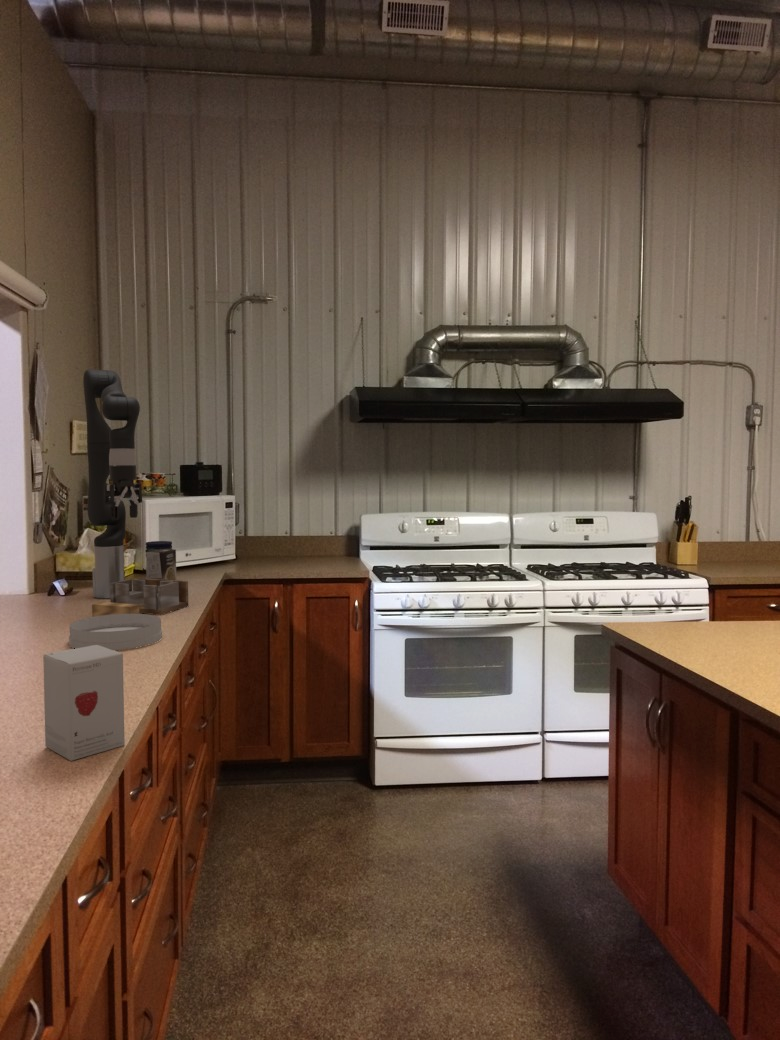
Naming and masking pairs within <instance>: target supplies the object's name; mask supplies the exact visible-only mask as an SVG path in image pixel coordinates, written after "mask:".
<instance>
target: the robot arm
mask: <svg viewBox="0 0 780 1040" xmlns="http://www.w3.org/2000/svg"><path fill="white" fill-rule="evenodd" d="M82 378H83V380H82V382H83V395H84V404H85V414H86V445H87V447H86V448H87V449H86V451H87V452H86V453H87V463H88V464H87V466H88V467H87V468H88V489H87V491H88V492H87V504H86V505H87V506H86V507H87V517H88V520H89V523H91V524H92V525H93V526H95V527H102V526H104V527H105V526H106V528H105V530H104V531H103V532H102V533H101V534H99V535H98V536H96V537H95V538H94V539H93V540H94V541H93V547H94V548H93V550H94V568H92V570H91V571H92V594H93V595H92V597H93V598H98V599H110V583H114V582H118V581H123V580H126V579H125V557H124V556H125V552H124V551H125V548H124V547H125V546H124V545H125V544H124V540H125V537H126V521H127V519H126V518H127V517H126V516H127V514H126V512H127V511H126V506H125V503H124V501H123V499H125V500H126V501H127V502H128V505H129V517H130V519H131V518H138V513H139V512H138V511H139V510H138V506H139V504H140V503H143V494H142V491H143V490H142V483H140V482H136V483H135V481H137V478H138V477H137V455H136V447H135V446H136V445H135V444H136V442H135V432H136V427H137V426H136V425H137V423H138V419H139V415H140V411H141V405H140V402H139V401H138V399H137V398H135V397H134V396H133V397H132V396H127V395H126V394H125V392H124V391H123V386H122V382H121V378H120V376H119V374H118V373H117V372H116V371H114V370H111V369H110V370H109V369H108V370H107V369H106V370H105V369H86V370H85V371H84V373H83V377H82ZM97 399H101V402H102V403H101V404H102V405H101V412H102V413H101V412H100V410H99V408H98V404H97V401H96V400H97ZM102 415H103V416H102ZM105 419H107V420H108V421H119V422H120V421H126V423H125V425H124V426H122V427H118V428H117V427H116V428H114V429H112V428H111V427H110V425H109V424H108V422H106V420H105ZM108 479H109V480H110V481H112V484H111V483H109V484H108V483H107V481H108Z"/></svg>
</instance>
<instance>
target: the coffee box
mask: <svg viewBox="0 0 780 1040" xmlns="http://www.w3.org/2000/svg"><path fill="white" fill-rule="evenodd" d="M145 563H146V565H145V576H146V577H145V579H160V580H177V550H176V549H173V548H172V549H164V550H154V551H149V552H145Z"/></svg>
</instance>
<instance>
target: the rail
mask: <svg viewBox="0 0 780 1040" xmlns="http://www.w3.org/2000/svg"><path fill="white" fill-rule="evenodd" d="M91 612H92V613H91V615H92V616H91V617H95V616H102V615H111V614H140V613H139V604H124V603H111V602H108V601H107V602H106V601H100V602H96V603H92V604H91Z"/></svg>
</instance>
